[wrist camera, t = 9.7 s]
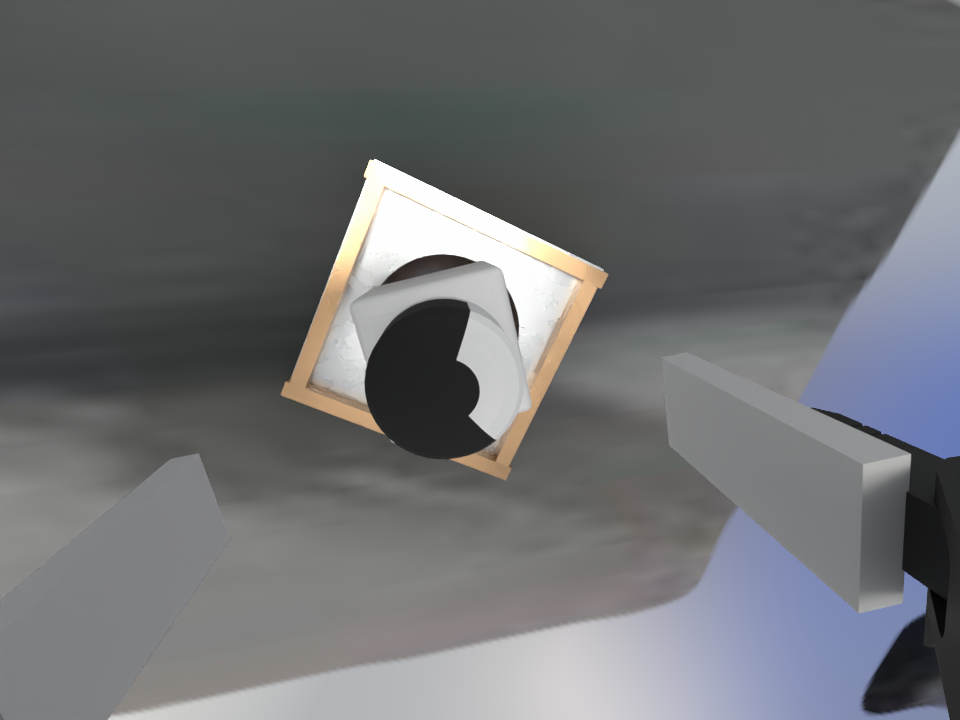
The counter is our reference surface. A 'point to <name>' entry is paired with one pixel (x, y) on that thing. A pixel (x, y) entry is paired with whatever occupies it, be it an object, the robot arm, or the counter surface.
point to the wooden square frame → (427, 249)
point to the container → (442, 360)
